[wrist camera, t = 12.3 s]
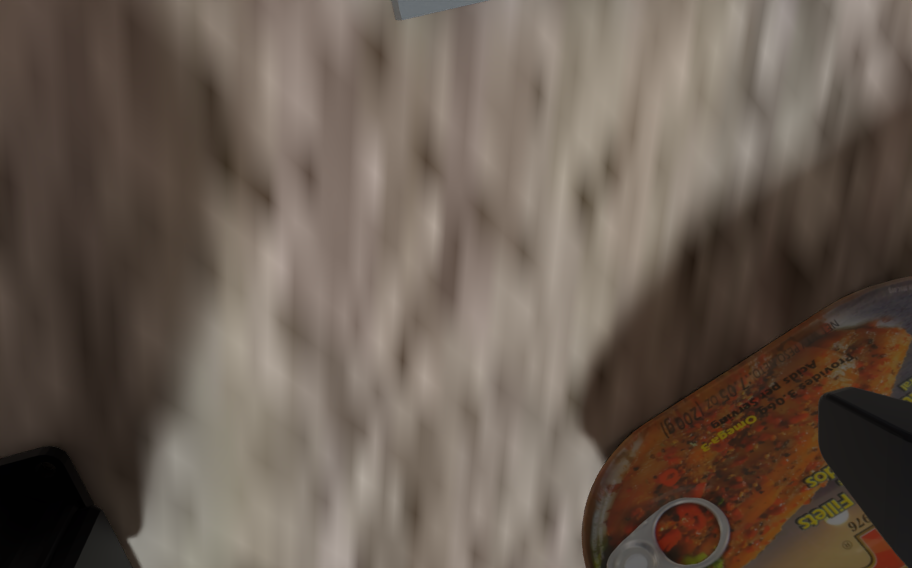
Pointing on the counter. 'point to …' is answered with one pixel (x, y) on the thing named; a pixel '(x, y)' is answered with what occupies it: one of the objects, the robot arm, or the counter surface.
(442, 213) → the counter surface
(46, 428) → the counter surface
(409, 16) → the hole plate
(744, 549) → the tin
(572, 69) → the counter surface
